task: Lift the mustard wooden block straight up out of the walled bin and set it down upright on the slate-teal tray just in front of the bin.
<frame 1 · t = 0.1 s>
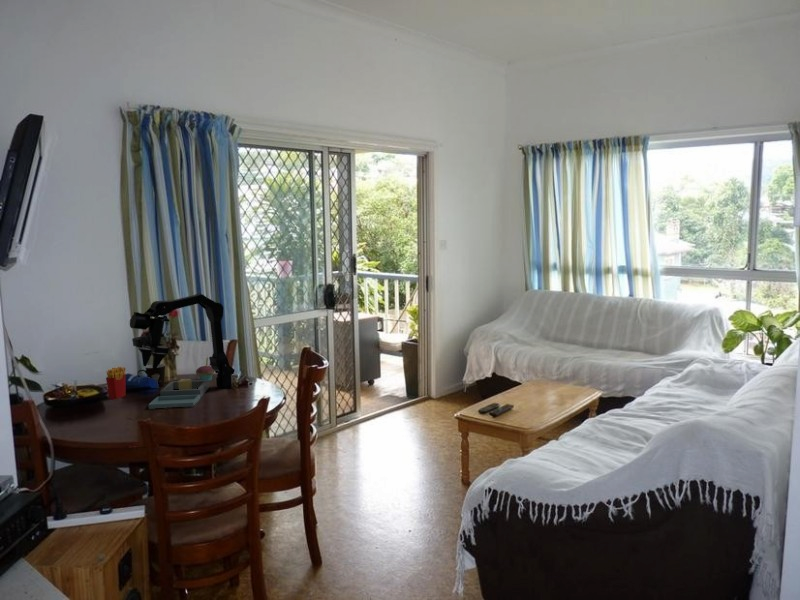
hand: (149, 367, 265), 15 cm above the table, tool pointing down, fingers open, 9 cm apart
coffee mug: (153, 387, 295), on the table
cupcake: (205, 380, 304), on the table
bin: (185, 393, 282), on the table
block: (185, 386, 282), in the bin
french fries: (118, 397, 279), on the table
tray: (175, 404, 265), on the table
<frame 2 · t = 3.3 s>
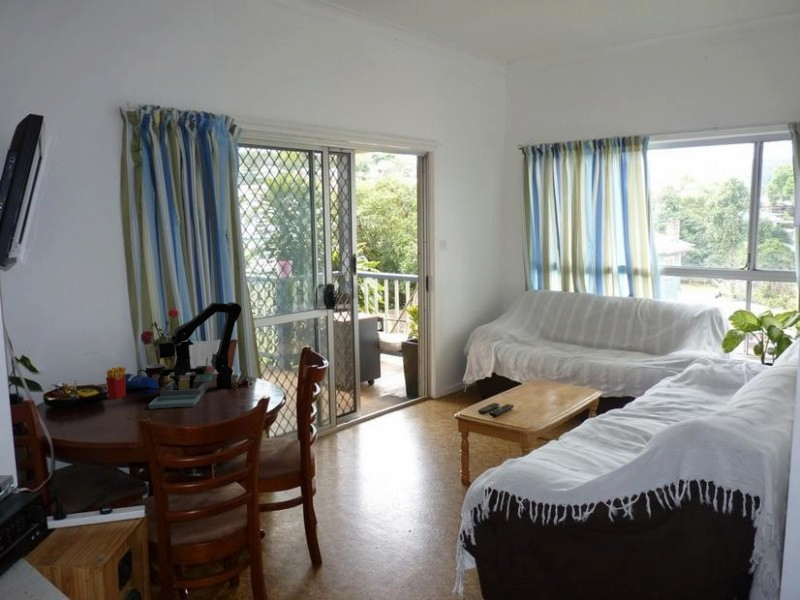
hand: (185, 389, 282), 2 cm above the table, tool pointing down, fingers closed on block, 4 cm apart
block: (185, 386, 282), in the bin, touching gripper
everything else where it was.
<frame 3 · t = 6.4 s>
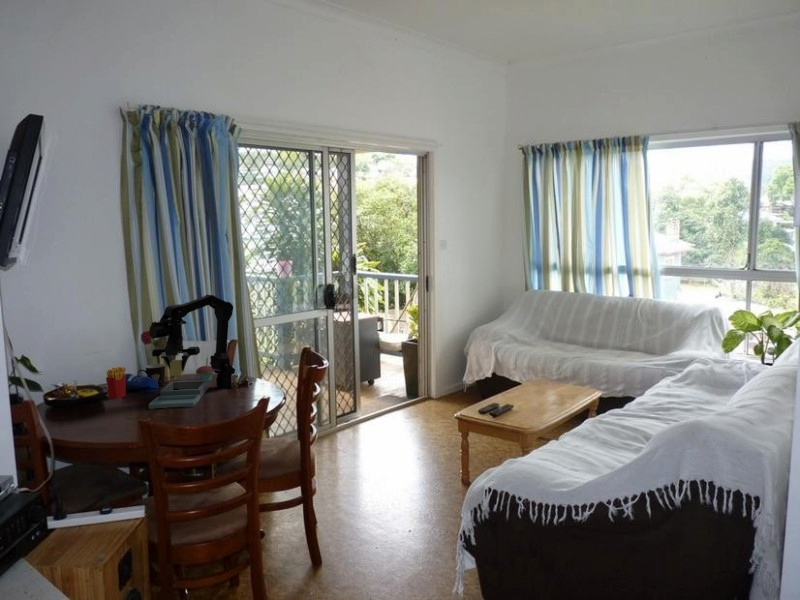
hand: (177, 371, 271), 12 cm above the table, tool pointing down, fingers closed on block, 4 cm apart
block: (177, 367, 271), point 14 cm above the table, touching gripper
everything else where it was.
when the fingers open (3 cm above the table, at t = 9.8 s): block drops 1 cm, resting on tray.
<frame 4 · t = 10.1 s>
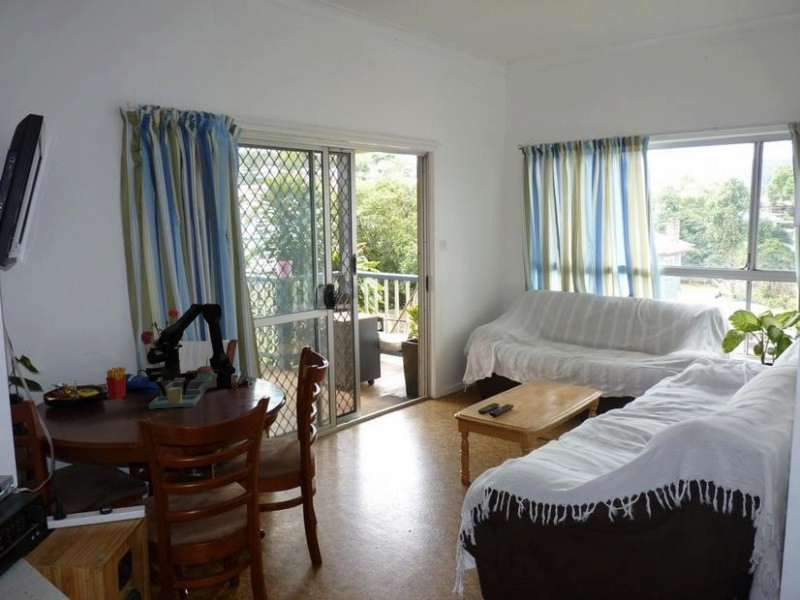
hand: (174, 395, 265), 3 cm above the table, tool pointing down, fingers open, 8 cm apart
block: (174, 395, 265), in the tray
everything else where it was.
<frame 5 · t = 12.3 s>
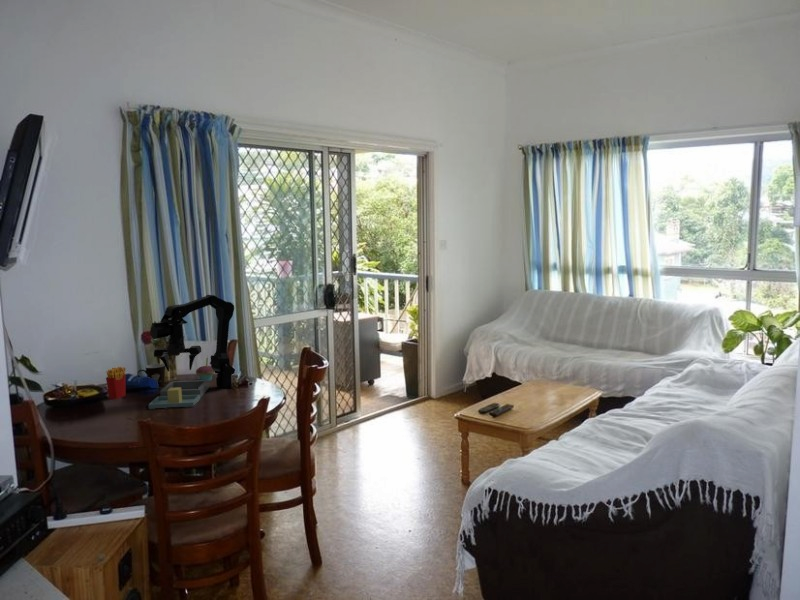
hand: (179, 370, 273), 12 cm above the table, tool pointing down, fingers open, 9 cm apart
nothing on the table moved.
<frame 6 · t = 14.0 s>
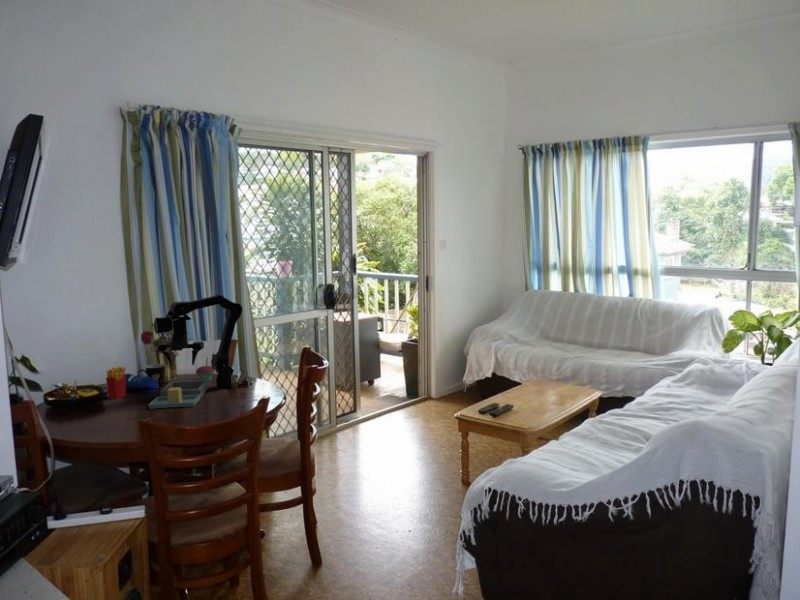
hand: (182, 365, 279), 13 cm above the table, tool pointing down, fingers open, 9 cm apart
nothing on the table moved.
at the end: block inside the target area on the tray (0.1 cm from its centre), point 3.5 cm above the tray's base; block tilted 0°; the gripper is holding nothing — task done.
